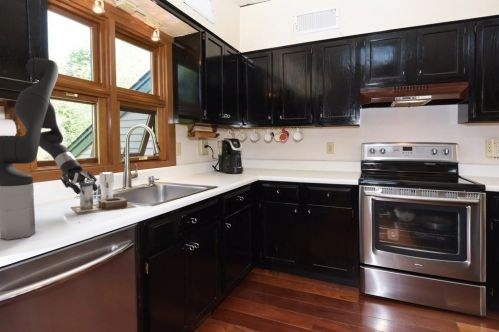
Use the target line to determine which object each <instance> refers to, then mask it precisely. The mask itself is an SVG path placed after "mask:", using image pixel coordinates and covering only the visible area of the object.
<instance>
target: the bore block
mask: <svg viewBox="0 0 499 332" xmlns="http://www.w3.org/2000/svg"><path fill="white" fill-rule="evenodd" d="M135 208H137V206H135V205H134V204H132V203H130V202H129V201H128V199H127V198H125V197H120V196H115V197H114V196H113V198H104V199H101V198H99V199H98V202H97V203H95V204H94V203H93V209H89V210H81V209H80V205H78V206H77V205H76V206H70V209H71V210H72V211H73V213H74V214H76V215H77V216H80V215H81V216H82V215H88V214H89V215H90V214H95V213H104V212H111V211H119V210H126V209H127V210H128V209H135Z"/></svg>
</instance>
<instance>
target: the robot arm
mask: <svg viewBox="0 0 499 332" xmlns="http://www.w3.org/2000/svg"><path fill="white" fill-rule="evenodd" d="M26 68H27V71H28V73H29V74H30V75H31V76H32V77H33V78H34V79H37V80H39V81H37V83H36V84H34V85H32V86H30V87H28V86H27V87H26V88H25V89H23V90H22V91H21V92H20V93H19V94H18V97H17V99H16V103H15V105H14V112H15V114H16V116H17V118H18V119H19V121H20V122H21V123H22V124H23V126H24V129H25V132H24V135H0V239H3V240H5V241H10V240H15V239H21V238H22V239H23V238H29V237H31V236H33V235H34V234H36V215H35V214H36V213H35V195H34V193H35V192H34V191H35V190H34V176H33V175H31V174H29V173H28V172H27V173H26V172H24V171H21V170H18V169H17V168H15V167H14V165H13V164H15V165H18V164H19V165H21V164H22V165H23V164H32V163H34V161H35V160H36V159H37V156H38V153H39V148H40V149H42V150H43V151H45V152H46V153H48V154H49V155H50V156H51V158H52V159H53V161H54V162H55V164H56V165H57V167H58V168H59V170H60V172H61V173H62V174H61V175H60V177H59V179H60V181H61V182H62V184H63V185H64V187H65V188H71V189H72V190H73V192H74V193H75V194H76V195H80V192H81V190H80V186H79V185H78V184H79V182H83V181H93V184H92V185H93V192H97V191H98V190H99V187H98V185H97V184H96V182H97V181H98V179H97V177H96V176H95V175H94V174H93V173H92V171H90V170H89V171H87V172H84V170H83V167H82V165H81V164H80V163H79V162H78V160H77V159H76V157H75V156H74V154H72V153H71V152H70V150H69V148H68V147H67V146H66V145H64V144H63V141H64V137H63V133H62V132H61V130H60V128H59V126H58V122H57V116H56V114H57V113H56V110H55V107H54V105H53V104H52V103H51V101H50V98H51V95H52V92H53V90H54V88H55V85H56V83H57V80H58V76H59V66H58V64H57V62H56V61H54V60H51V59H48V58H41V57H34V58H31V59H29V60H28V62H27V64H26ZM49 101H50V104H49ZM42 129H47V130H45V131H42Z"/></svg>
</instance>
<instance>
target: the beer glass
mask: <svg viewBox="0 0 499 332" xmlns="http://www.w3.org/2000/svg"><path fill="white" fill-rule="evenodd" d="M114 184H115V178H114V172H113V171H112V172H111V171H110V172H109V171H108V172H107V171H105V172H104V171H103V172H99V188H100V192H101V197H100V199H104V198H114V195H113V192H114V186H115V185H114Z"/></svg>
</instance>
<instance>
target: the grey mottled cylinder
mask: <svg viewBox="0 0 499 332" xmlns="http://www.w3.org/2000/svg"><path fill="white" fill-rule="evenodd" d="M92 184H93V181H89V180H88V181H83V182H79V183H78V186H79V189H80V190H81V192H80V194H79V206H80V209H81V210H89V209H93V204H94V195H93V194H94V190H93V185H92Z"/></svg>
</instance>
